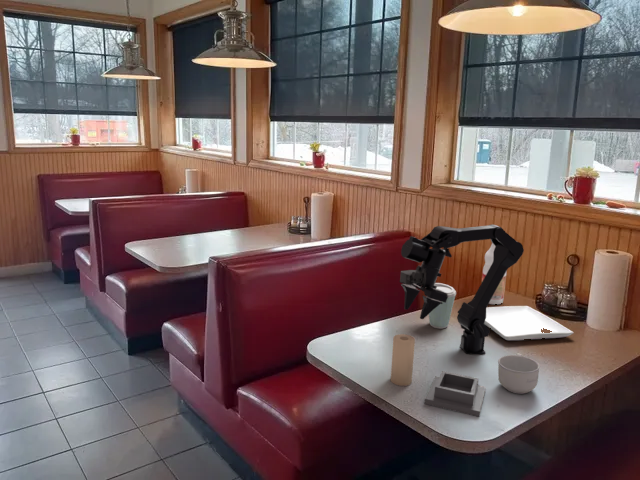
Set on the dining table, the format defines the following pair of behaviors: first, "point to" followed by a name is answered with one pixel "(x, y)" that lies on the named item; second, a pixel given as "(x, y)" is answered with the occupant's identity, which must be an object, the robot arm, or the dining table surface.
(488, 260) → the fruit juice
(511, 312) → the square plate
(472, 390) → the roll caddy
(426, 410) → the dining table surface
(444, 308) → the disposable coffee cup
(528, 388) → the teacup
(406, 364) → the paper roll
